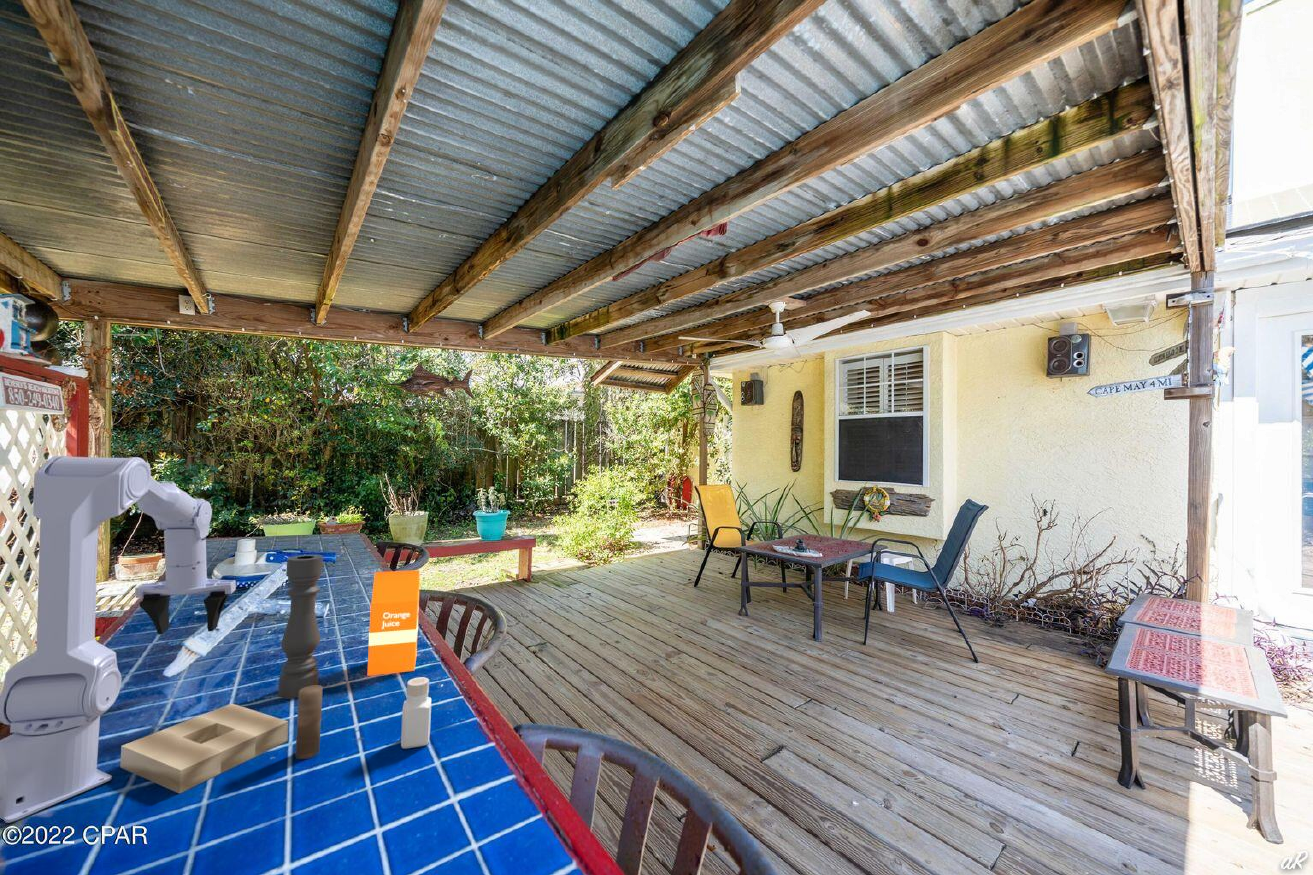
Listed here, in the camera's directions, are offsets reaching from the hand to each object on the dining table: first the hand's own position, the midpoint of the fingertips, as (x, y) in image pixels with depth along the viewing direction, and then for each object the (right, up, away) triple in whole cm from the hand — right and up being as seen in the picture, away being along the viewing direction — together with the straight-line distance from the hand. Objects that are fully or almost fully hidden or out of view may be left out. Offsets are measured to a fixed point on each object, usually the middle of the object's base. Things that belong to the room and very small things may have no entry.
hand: (188, 630), depth 100 cm
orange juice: (+33, -12, +12) cm, 37 cm away
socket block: (+22, -11, -21) cm, 32 cm away
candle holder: (+21, -11, -1) cm, 24 cm away
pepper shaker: (+51, -12, -16) cm, 54 cm away
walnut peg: (+36, -11, -20) cm, 43 cm away
